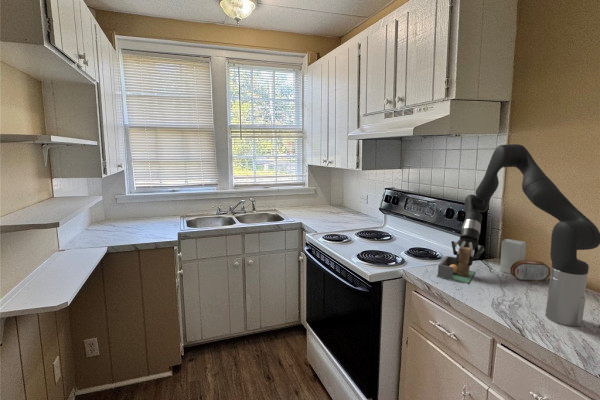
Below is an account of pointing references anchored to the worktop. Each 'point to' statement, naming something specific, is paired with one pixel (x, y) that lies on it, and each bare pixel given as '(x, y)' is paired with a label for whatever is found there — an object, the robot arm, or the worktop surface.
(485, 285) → the worktop surface
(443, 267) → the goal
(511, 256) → the skincare box
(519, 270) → the tin
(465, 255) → the brown wooden block
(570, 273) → the robot arm
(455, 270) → the ball
